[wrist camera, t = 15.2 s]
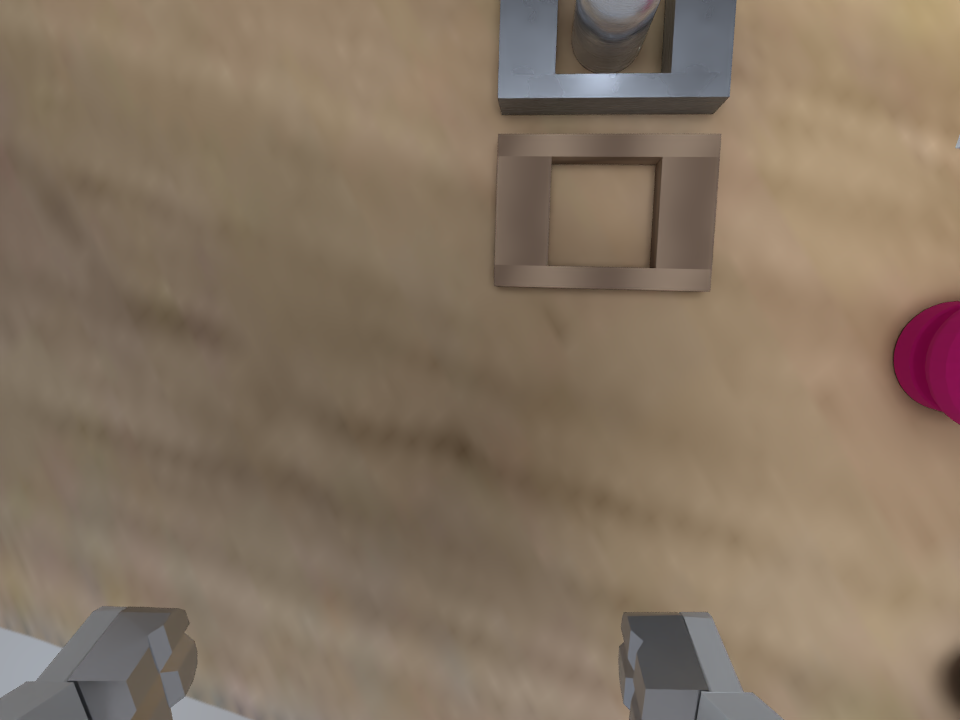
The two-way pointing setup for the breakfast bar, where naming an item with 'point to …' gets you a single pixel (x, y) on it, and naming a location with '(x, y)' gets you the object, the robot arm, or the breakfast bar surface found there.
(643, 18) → the steel axle
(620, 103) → the socket block
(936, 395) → the pepper mill
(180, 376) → the breakfast bar surface
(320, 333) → the breakfast bar surface
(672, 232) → the wooden picture frame
